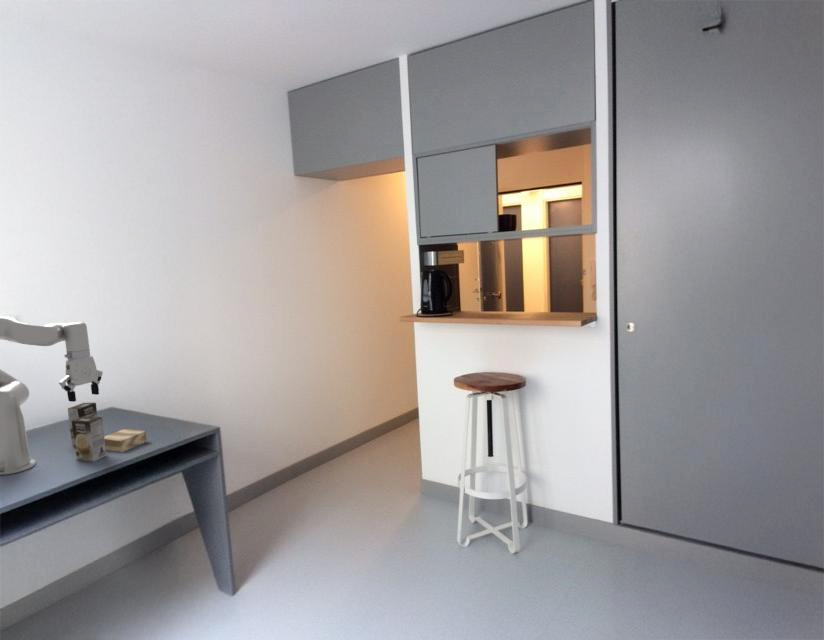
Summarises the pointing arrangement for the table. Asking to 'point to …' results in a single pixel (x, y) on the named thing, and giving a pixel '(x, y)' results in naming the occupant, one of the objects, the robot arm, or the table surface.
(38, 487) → the table surface
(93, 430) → the coffee box
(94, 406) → the coffee box
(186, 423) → the table surface
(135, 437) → the oak block
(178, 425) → the table surface
